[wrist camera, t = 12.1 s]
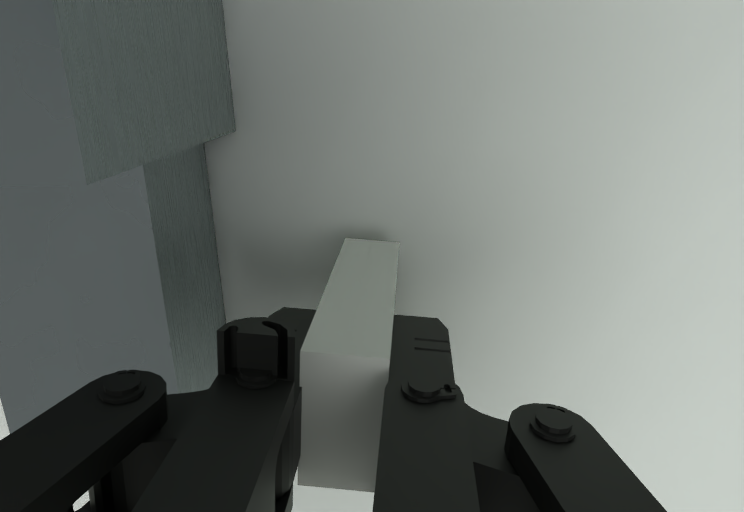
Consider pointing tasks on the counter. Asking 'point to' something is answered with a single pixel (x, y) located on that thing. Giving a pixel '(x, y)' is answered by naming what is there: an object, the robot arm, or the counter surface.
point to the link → (108, 194)
